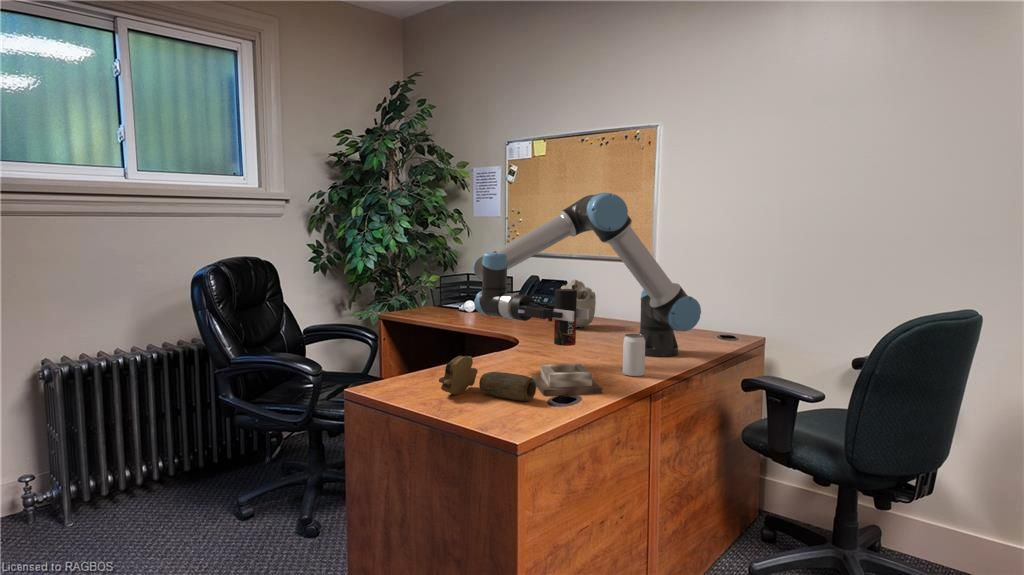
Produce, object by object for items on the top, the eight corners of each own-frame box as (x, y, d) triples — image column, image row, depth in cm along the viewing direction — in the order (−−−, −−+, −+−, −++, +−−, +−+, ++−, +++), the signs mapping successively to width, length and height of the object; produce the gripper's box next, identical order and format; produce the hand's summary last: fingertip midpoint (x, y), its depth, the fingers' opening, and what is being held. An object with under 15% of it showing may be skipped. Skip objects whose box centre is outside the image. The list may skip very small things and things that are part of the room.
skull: (565, 324, 280) (566, 276, 278) (598, 326, 274) (599, 277, 272) (553, 330, 262) (553, 279, 259) (587, 332, 256) (588, 280, 254)
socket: (585, 378, 178) (585, 361, 177) (602, 393, 162) (602, 374, 162) (531, 380, 175) (531, 363, 175) (543, 395, 160) (543, 376, 159)
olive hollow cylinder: (539, 399, 157) (539, 373, 156) (526, 405, 151) (526, 379, 150) (490, 390, 164) (490, 366, 164) (475, 396, 158) (476, 371, 158)
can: (644, 377, 180) (645, 337, 179) (622, 376, 181) (623, 336, 180) (644, 372, 186) (645, 333, 185) (622, 371, 187) (623, 333, 186)
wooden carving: (463, 384, 170) (463, 349, 169) (478, 386, 169) (478, 350, 168) (435, 400, 155) (435, 361, 154) (451, 402, 153) (451, 363, 152)
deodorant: (563, 340, 173) (565, 288, 171) (579, 344, 168) (581, 290, 167) (549, 343, 169) (550, 289, 167) (565, 346, 164) (567, 291, 163)
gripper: (538, 316, 187) (600, 325, 171) (495, 322, 173) (558, 333, 158) (538, 292, 186) (601, 298, 171) (495, 296, 173) (559, 304, 157)
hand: (580, 315), depth 164 cm, fingers closed on deodorant, 6 cm apart
